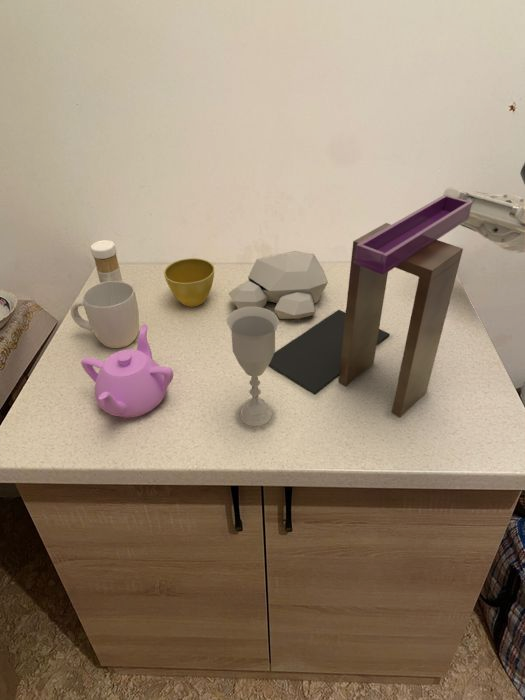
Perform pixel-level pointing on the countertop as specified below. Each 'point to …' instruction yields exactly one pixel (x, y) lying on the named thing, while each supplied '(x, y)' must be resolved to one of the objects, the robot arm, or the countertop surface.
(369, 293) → the walnut stand
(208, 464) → the countertop surface
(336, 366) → the charcoal mat
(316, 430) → the countertop surface
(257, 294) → the rock
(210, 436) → the countertop surface
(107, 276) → the sprinkles bottle
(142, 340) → the teapot
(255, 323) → the chalice
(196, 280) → the mustard yellow bowl
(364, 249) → the plum dish
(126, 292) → the mug
